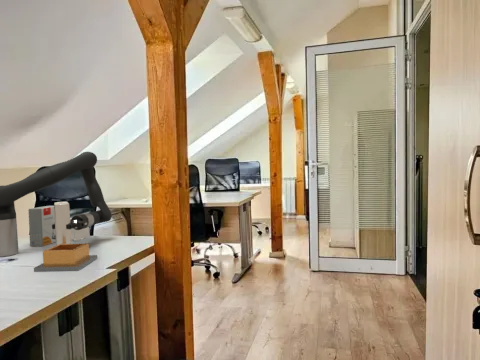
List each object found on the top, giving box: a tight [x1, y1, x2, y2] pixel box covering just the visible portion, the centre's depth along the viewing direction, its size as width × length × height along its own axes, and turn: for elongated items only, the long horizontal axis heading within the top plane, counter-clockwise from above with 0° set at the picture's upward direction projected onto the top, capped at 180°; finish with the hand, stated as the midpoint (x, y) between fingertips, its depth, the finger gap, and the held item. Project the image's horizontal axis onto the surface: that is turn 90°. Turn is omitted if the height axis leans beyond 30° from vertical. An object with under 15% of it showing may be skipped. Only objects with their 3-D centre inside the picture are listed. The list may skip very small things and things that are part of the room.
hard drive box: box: [27, 205, 56, 247], centre depth 199 cm, size 16×8×20 cm, turn 171°
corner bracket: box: [70, 217, 91, 241], centre depth 212 cm, size 11×11×12 cm
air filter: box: [53, 201, 72, 246], centre depth 171 cm, size 6×6×25 cm
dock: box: [33, 242, 98, 273], centre depth 155 cm, size 18×18×8 cm
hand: (60, 227), depth 170 cm, fingers open, 8 cm apart
